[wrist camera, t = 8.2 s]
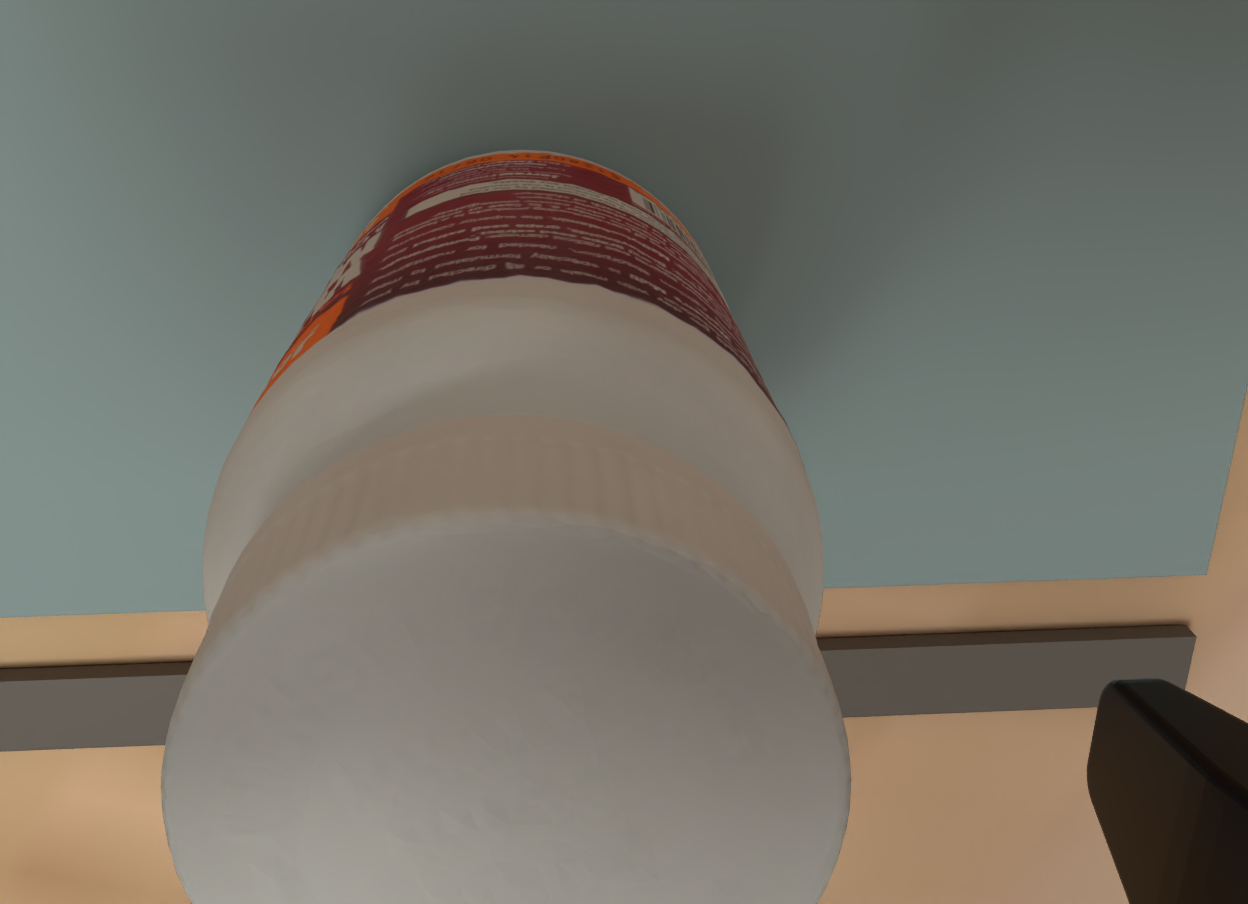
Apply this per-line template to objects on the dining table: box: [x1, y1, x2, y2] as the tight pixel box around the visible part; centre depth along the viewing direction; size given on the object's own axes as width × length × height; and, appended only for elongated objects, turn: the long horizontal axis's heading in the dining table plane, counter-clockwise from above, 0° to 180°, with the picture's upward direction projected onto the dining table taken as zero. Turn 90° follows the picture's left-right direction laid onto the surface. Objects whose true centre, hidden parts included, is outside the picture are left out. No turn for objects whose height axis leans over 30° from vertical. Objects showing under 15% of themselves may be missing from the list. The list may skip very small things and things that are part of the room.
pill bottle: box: [161, 150, 851, 904], centre depth 14 cm, size 6×6×11 cm
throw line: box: [0, 625, 1196, 752], centre depth 22 cm, size 2×24×1 cm, turn 91°
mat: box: [0, 0, 1248, 618], centre depth 19 cm, size 10×24×1 cm, turn 91°
